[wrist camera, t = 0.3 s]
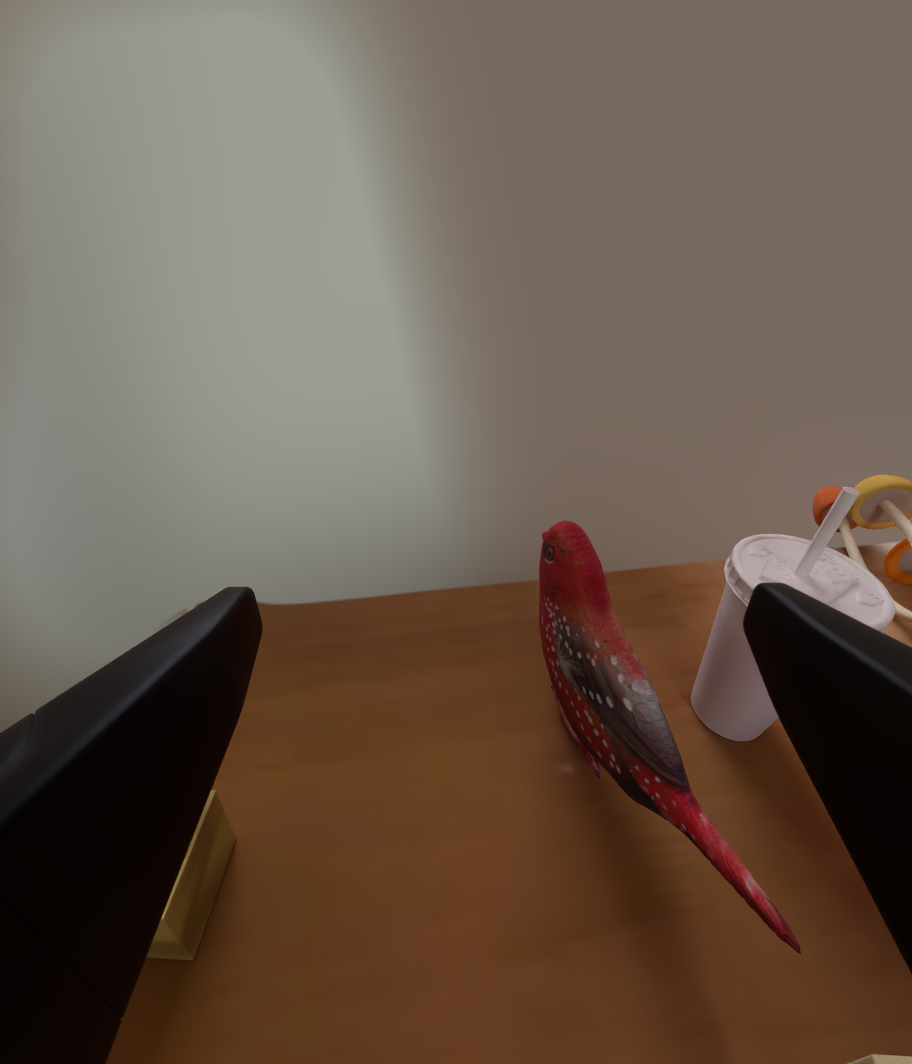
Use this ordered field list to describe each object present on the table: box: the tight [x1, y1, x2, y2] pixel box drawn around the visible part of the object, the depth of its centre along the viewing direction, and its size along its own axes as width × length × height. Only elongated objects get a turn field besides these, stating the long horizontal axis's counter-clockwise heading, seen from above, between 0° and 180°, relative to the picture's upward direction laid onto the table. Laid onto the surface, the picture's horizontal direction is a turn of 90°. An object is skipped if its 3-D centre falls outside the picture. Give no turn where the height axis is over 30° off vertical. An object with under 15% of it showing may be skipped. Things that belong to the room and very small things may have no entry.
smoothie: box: [691, 487, 895, 741], centre depth 24 cm, size 6×6×14 cm
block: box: [146, 790, 236, 960], centre depth 19 cm, size 4×4×4 cm
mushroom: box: [813, 475, 912, 622], centre depth 37 cm, size 7×8×15 cm
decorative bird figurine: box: [539, 521, 801, 954], centre depth 22 cm, size 3×18×10 cm, turn 17°
